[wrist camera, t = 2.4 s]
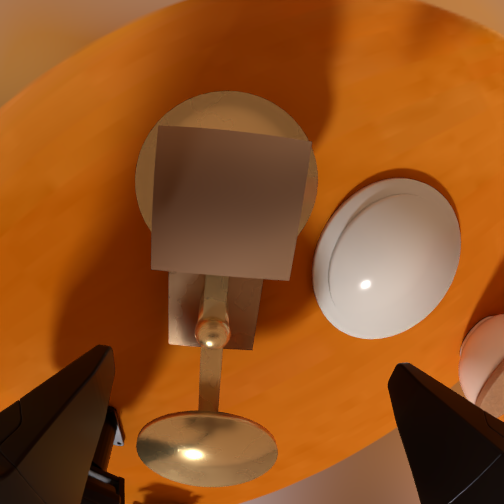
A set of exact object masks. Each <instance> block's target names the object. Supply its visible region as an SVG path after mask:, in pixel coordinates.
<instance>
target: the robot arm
mask: <svg viewBox="0 0 504 504" xmlns="http://www.w3.org/2000/svg"><path fill="white" fill-rule="evenodd" d="M114 375H115V364H114V357H113V350H112V348H111V347H110V346H106V345H97V346H95V347H94V348H92V349H91V350H89V351H88V352H87V353H85V354H84V355H82V356H81V357H79V358H78V359H76V360H75V361H74V362H72V363H71V364H69V365H68V366H66V367H65V368H63V369H62V370H61V371H59V372H58V373H56V374H55V375H53V376H52V377H51V378H49V379H48V380H46V381H45V382H43V383H42V384H40V385H39V386H38V387H36V388H35V389H33V390H32V391H30V392H29V393H28V394H26V395H25V396H23V397H22V398H21V399H20V401H19V400H18V401H16V402H15V403H13V404H12V405H10V406H9V407H7V408H6V409H4V410H3V411H1V412H0V504H125V493H124V483H125V479H124V478H122V477H117V476H115V475H113V474H110V473H108V472H107V467H108V463H109V459H110V455H111V451H112V447H113V445H118V446H123V445H124V439H123V436H122V432H121V428H120V425H119V421H118V417H117V413H116V410H115V409H114V408H113V407H110V406H108V403H109V398H110V393H111V388H112V384H113V379H114ZM388 390H389V394H390V398H391V403H392V407H393V411H394V416H395V420H396V424H397V427H398V430H399V433H400V436H401V439H402V443H403V446H404V449H405V452H406V455H407V458H408V461H409V465H410V468H411V471H412V474H413V478H414V481H415V485H416V488H417V491H418V495H419V499H420V502H421V504H504V422H502V421H501V420H499V419H497V418H496V417H494V416H492V415H491V414H489V413H488V412H486V411H483V409H481V408H480V407H478V406H476V405H475V404H473V403H472V402H470V401H468V400H467V399H465V398H464V397H462V396H460V395H459V394H457V393H456V392H454V391H453V390H451V389H449V388H448V387H446V386H445V385H443V384H442V383H440V382H438V381H437V380H435V379H434V378H432V377H431V376H429V375H427V374H426V373H424V372H423V371H421V370H420V369H418V368H416V367H415V366H413V365H412V364H410V363H399V364H397V365H396V367H395V369H394V371H393V373H392V375H391V377H390V379H389V381H388Z"/></svg>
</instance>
